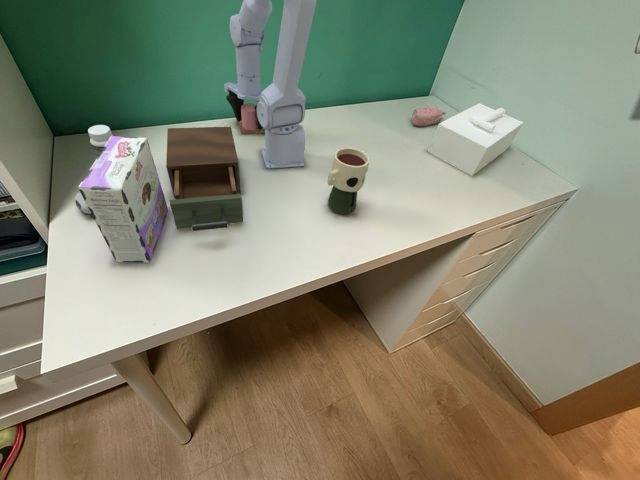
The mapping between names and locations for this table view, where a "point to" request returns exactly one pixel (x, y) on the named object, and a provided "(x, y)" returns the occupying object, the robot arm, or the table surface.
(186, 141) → the cabinet
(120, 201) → the candy box
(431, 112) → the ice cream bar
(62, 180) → the table surface
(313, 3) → the robot arm
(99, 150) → the pill bottle
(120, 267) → the table surface
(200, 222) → the drawer
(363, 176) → the character mug
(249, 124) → the pink short cylinder
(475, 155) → the white slanted box
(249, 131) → the cork mat
